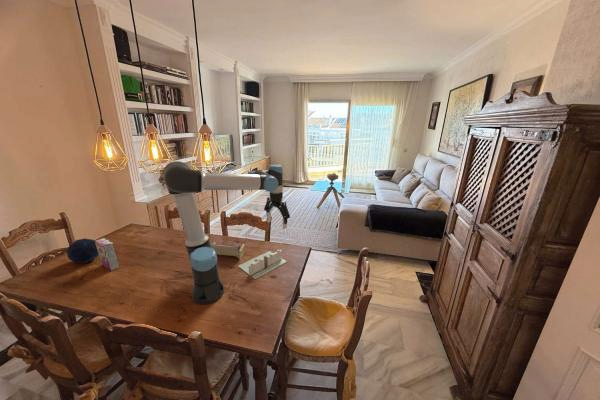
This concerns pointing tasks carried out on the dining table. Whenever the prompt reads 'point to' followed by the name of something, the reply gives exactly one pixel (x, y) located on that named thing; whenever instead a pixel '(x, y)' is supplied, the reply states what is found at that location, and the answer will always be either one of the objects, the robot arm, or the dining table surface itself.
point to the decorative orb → (82, 251)
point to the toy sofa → (228, 250)
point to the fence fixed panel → (258, 265)
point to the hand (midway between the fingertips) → (276, 225)
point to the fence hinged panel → (274, 257)
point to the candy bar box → (107, 254)
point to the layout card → (256, 275)
